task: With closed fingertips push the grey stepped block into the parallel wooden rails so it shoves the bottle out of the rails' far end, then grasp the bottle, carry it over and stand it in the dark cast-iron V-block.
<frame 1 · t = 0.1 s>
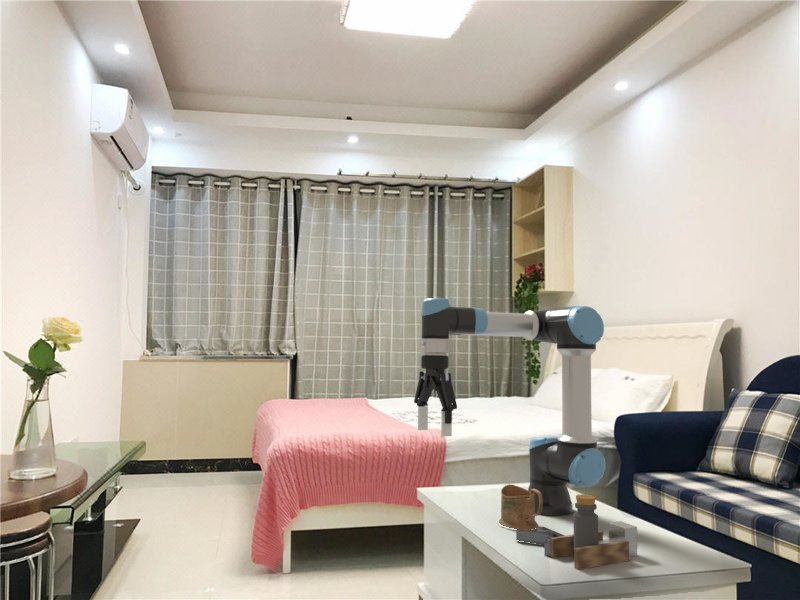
hand: (434, 433, 167), 28 cm above the table, fingers open, 13 cm apart
parallel wooden rails: (589, 558, 151), on the table
mug: (523, 528, 177), on the table
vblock: (532, 548, 158), on the table
grey stepped block: (614, 554, 154), on the table
bottle: (586, 560, 151), on the table
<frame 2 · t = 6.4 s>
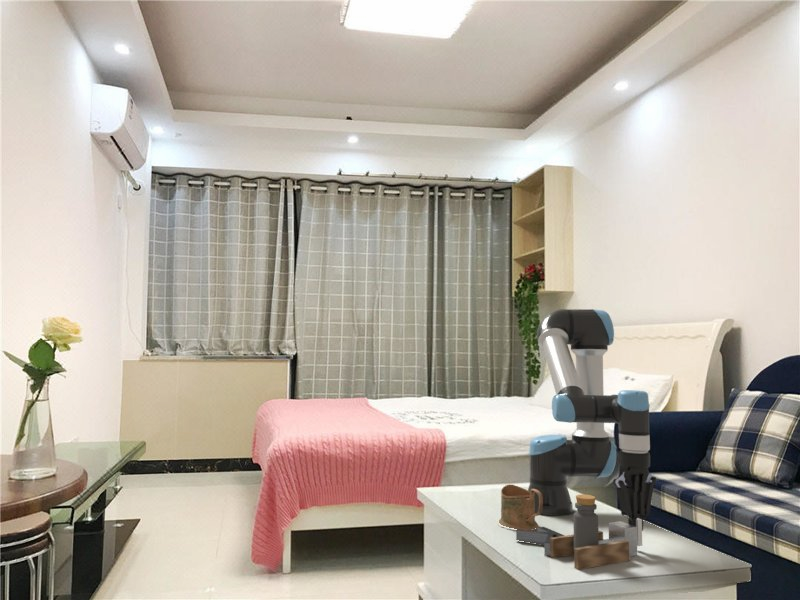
hand: (636, 544, 158), 2 cm above the table, fingers closed
grey stepped block: (614, 554, 154), on the table, touching gripper
everything else where it was.
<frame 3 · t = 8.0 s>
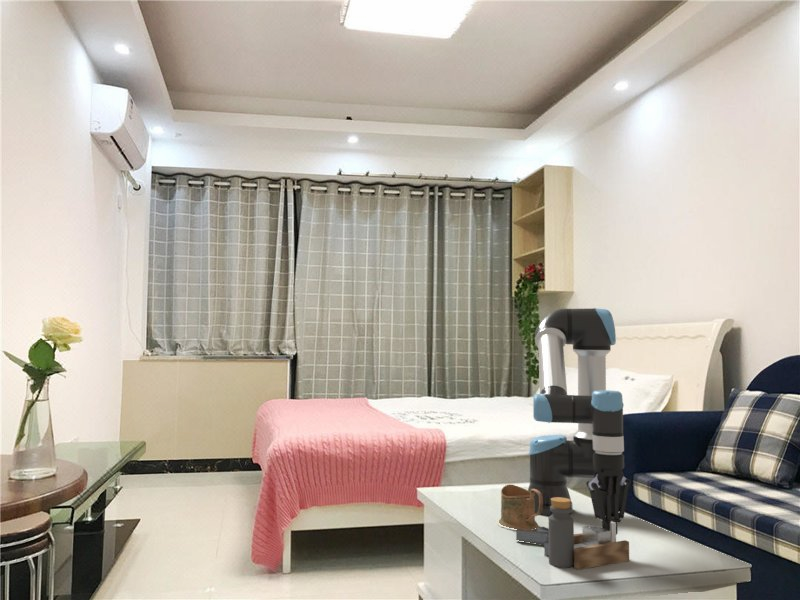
hand: (610, 548, 154), 2 cm above the table, fingers closed
grey stepped block: (587, 559, 150), on the table, touching bottle, gripper
bottle: (561, 564, 147), on the table, touching grey stepped block
everything else where it was.
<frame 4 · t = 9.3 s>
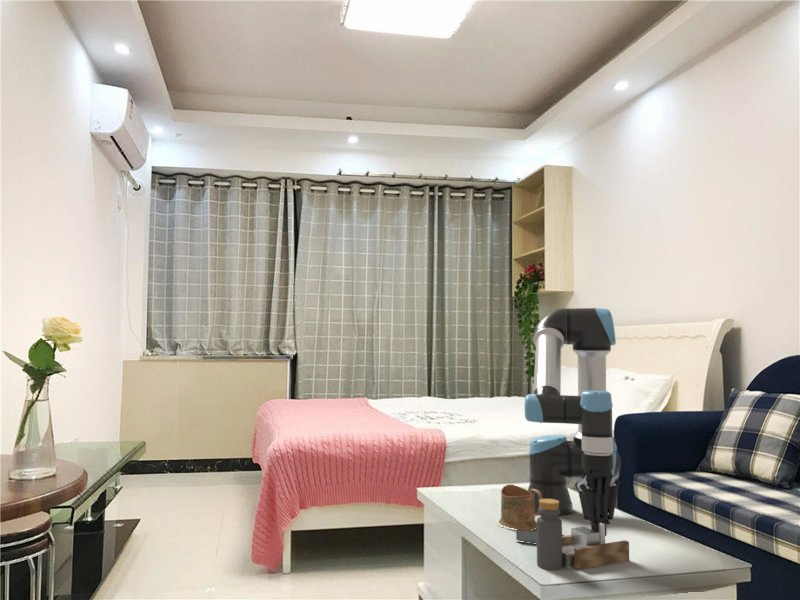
hand: (599, 550, 152), 2 cm above the table, fingers closed
grey stepped block: (575, 561, 149), on the table, touching bottle, gripper
bottle: (549, 566, 146), on the table, touching grey stepped block
everything else where it was.
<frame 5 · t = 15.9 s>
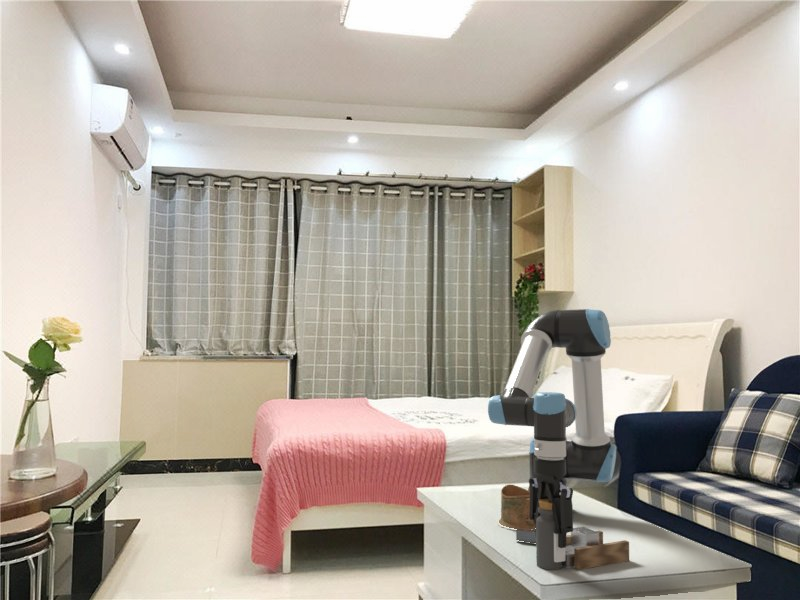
hand: (550, 556, 146), 2 cm above the table, fingers closed on bottle, 6 cm apart
grey stepped block: (575, 561, 149), on the table
bottle: (549, 566, 145), on the table, touching gripper
everything else where it was.
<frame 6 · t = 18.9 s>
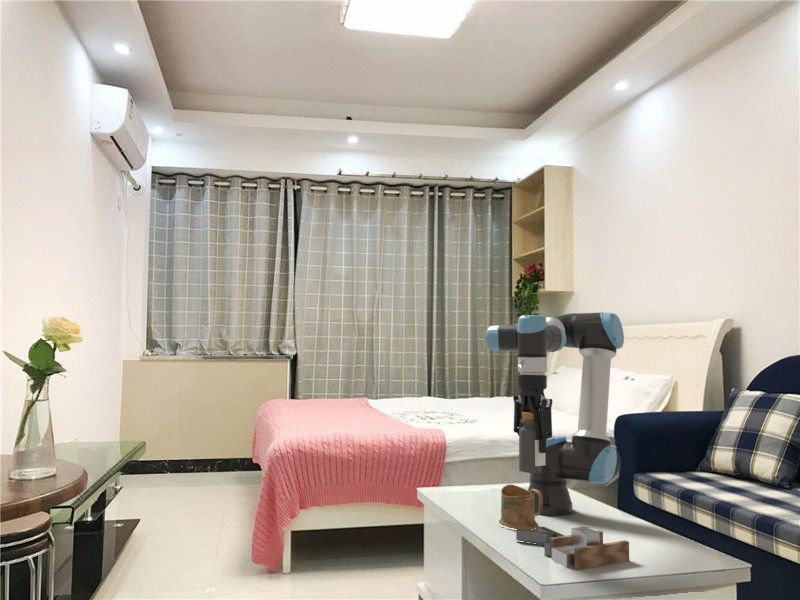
hand: (532, 463, 160), 21 cm above the table, fingers closed on bottle, 6 cm apart
bottle: (530, 471, 160), point 19 cm above the table, touching gripper
everything else where it was.
when the fingers open (4 cm above the table, at t = 22.3 s): bottle drops 2 cm, on the table.
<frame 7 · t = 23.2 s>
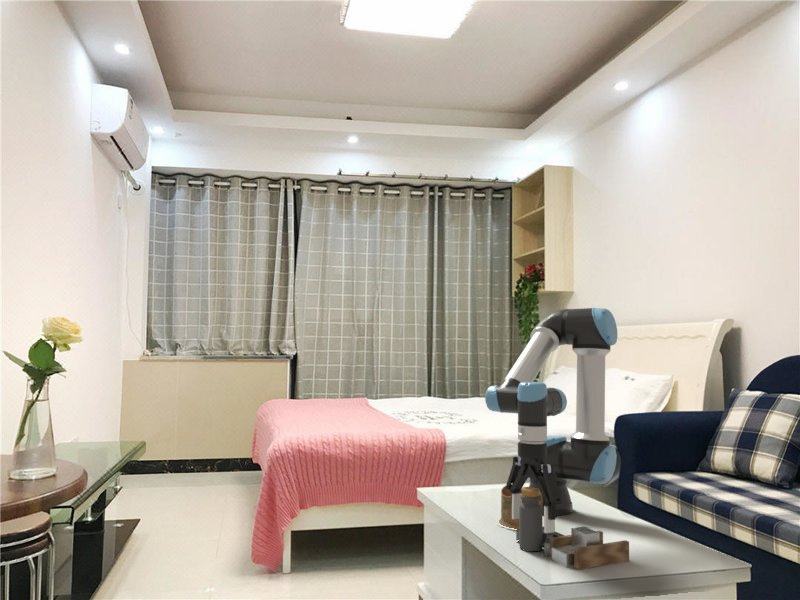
hand: (532, 525, 159), 6 cm above the table, fingers open, 13 cm apart
bottle: (530, 549, 158), on the table
everything else where it was.
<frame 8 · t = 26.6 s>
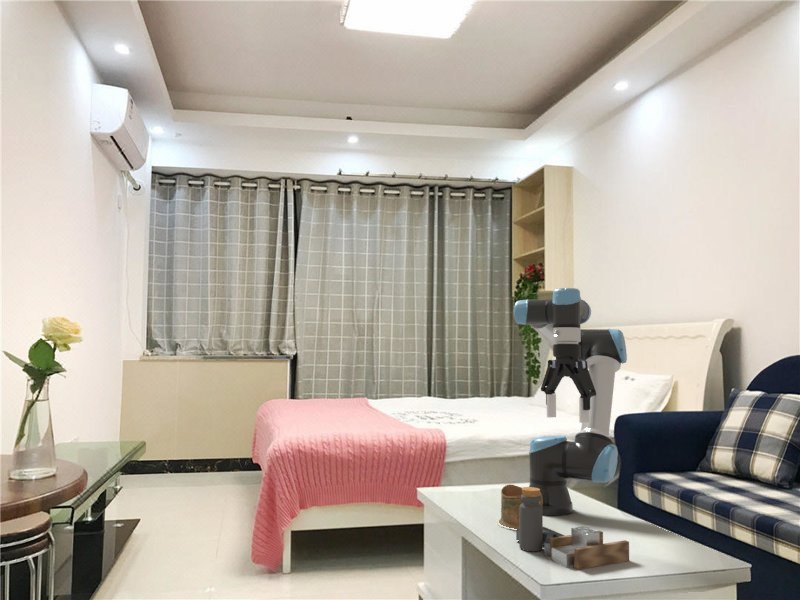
hand: (567, 419, 171), 32 cm above the table, fingers open, 13 cm apart
nothing on the table moved.
at the end: bottle 0.6 cm off-centre on the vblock, point 0.0 cm above the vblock's base; bottle tilted 1°; the gripper is holding nothing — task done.
